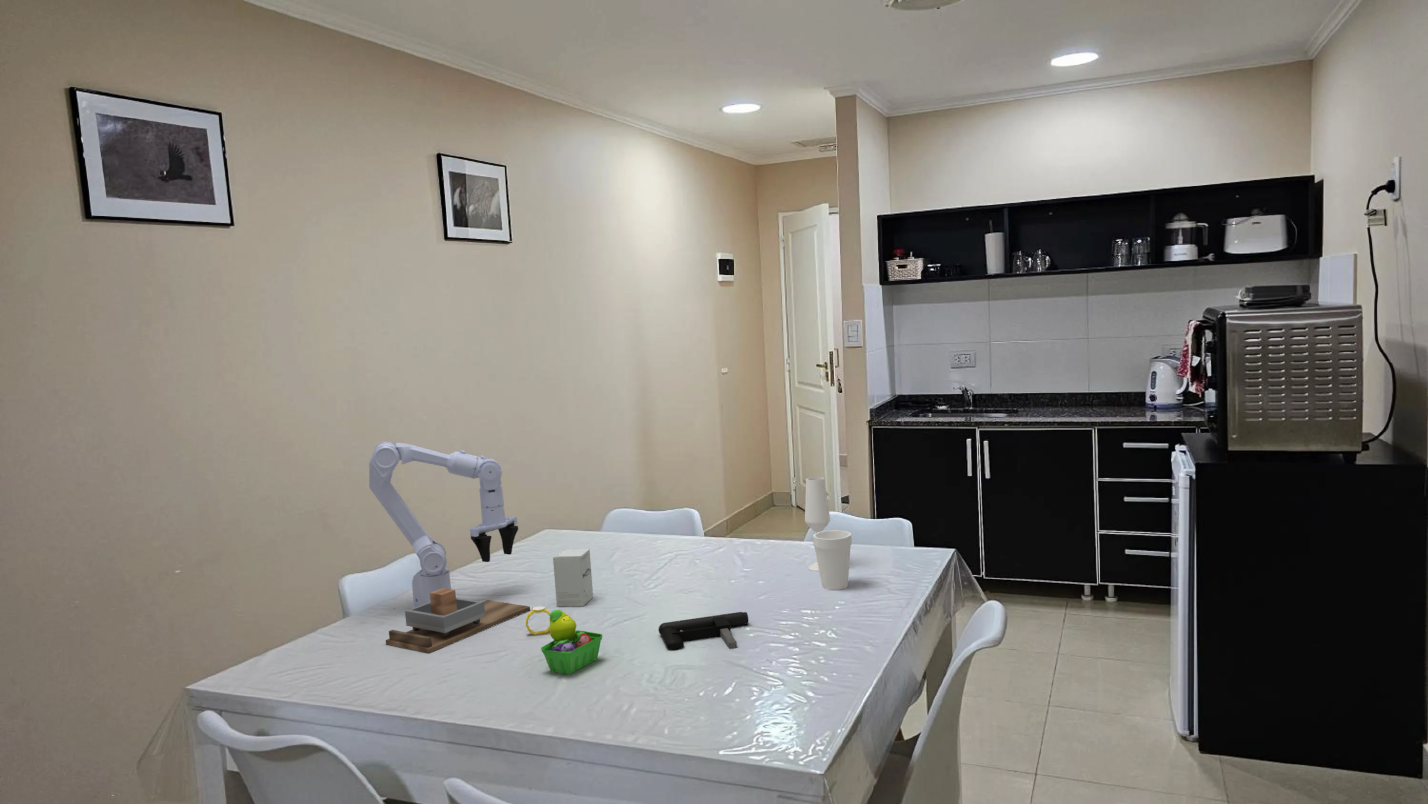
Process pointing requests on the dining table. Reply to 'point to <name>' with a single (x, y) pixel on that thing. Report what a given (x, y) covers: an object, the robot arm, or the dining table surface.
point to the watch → (537, 610)
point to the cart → (463, 615)
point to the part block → (443, 601)
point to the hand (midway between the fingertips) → (497, 557)
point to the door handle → (702, 629)
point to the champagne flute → (816, 508)
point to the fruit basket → (569, 645)
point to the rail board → (435, 640)
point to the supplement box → (573, 577)
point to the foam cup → (833, 558)
